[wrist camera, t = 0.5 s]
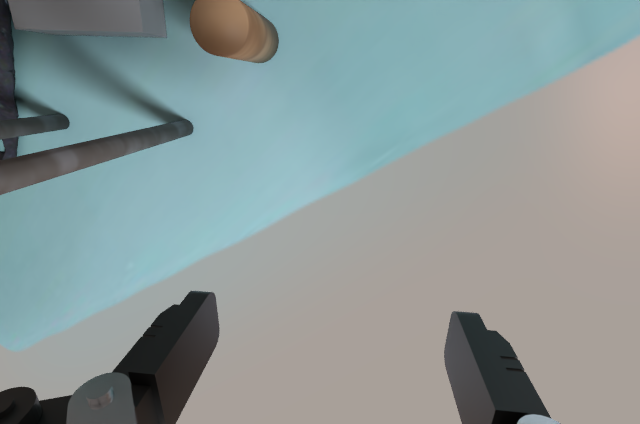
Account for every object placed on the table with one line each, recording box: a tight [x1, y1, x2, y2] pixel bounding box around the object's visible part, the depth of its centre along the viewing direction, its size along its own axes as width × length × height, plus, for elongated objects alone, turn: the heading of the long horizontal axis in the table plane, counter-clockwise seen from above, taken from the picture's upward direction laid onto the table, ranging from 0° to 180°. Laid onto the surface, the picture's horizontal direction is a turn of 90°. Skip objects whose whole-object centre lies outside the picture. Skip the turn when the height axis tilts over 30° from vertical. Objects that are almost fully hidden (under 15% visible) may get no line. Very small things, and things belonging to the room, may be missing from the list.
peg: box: [190, 0, 279, 63], centre depth 28 cm, size 4×4×10 cm
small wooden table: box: [0, 114, 193, 195], centre depth 25 cm, size 9×16×24 cm, turn 88°
